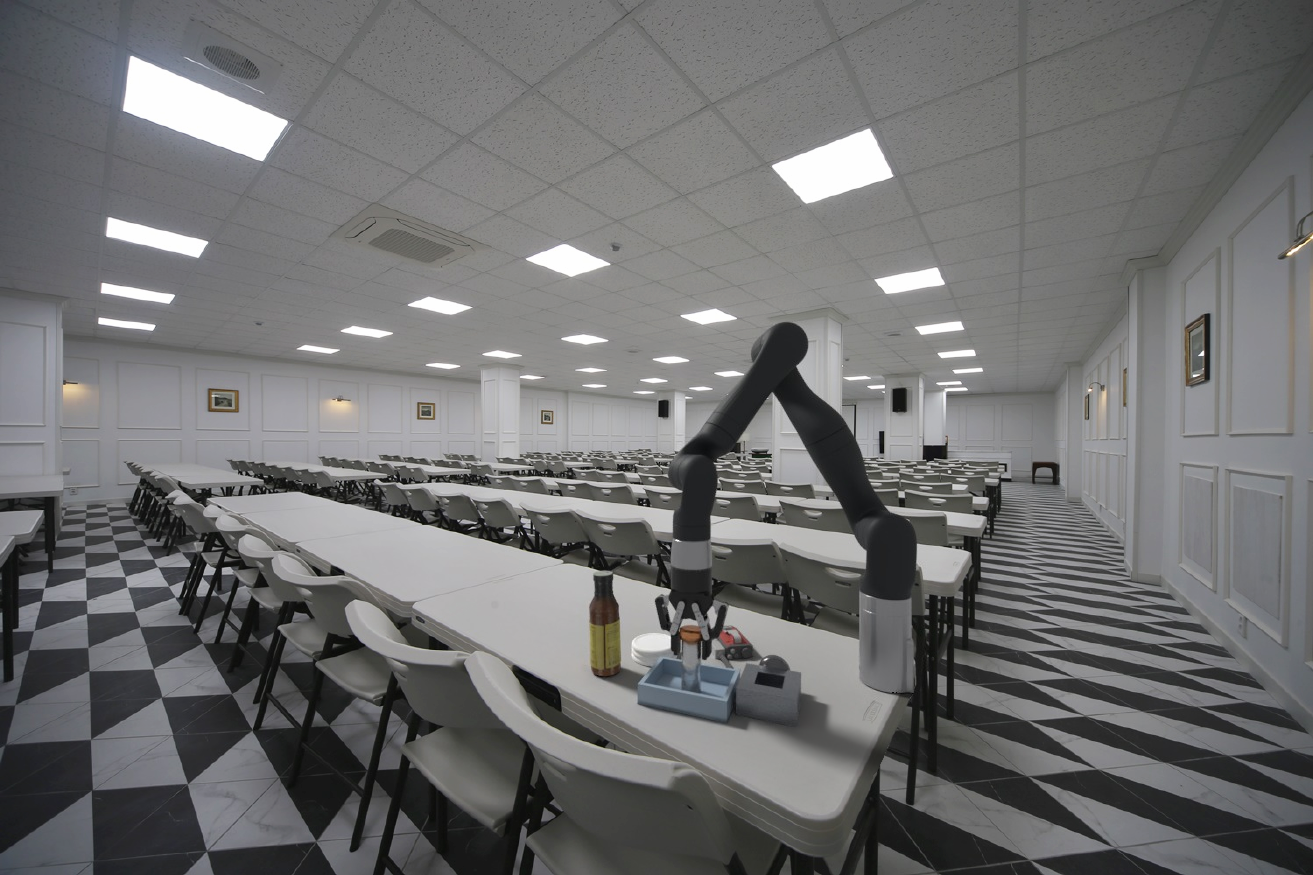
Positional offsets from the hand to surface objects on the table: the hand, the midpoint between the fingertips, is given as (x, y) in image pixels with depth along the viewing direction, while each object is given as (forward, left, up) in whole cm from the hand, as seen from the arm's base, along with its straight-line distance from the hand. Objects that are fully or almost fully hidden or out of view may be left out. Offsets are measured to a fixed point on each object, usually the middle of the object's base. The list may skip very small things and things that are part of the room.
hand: (690, 655), depth 87 cm
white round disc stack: (+12, -13, -8) cm, 19 cm away
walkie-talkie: (-3, -21, -8) cm, 22 cm away
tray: (0, 0, -7) cm, 7 cm away
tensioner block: (-14, -3, -7) cm, 16 cm away
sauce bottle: (+19, -3, -8) cm, 21 cm away
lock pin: (0, 0, -7) cm, 7 cm away
